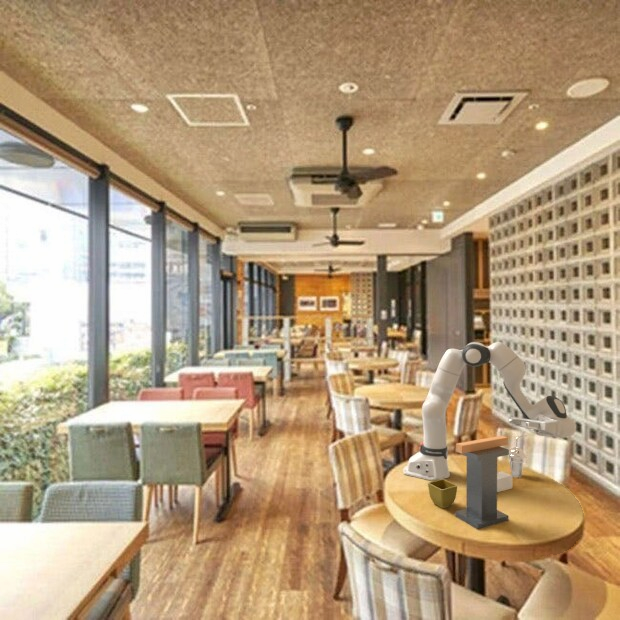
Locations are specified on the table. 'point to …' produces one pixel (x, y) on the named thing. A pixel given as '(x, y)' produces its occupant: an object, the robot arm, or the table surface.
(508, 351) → the robot arm
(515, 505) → the table surface
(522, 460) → the cup with straw
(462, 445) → the orange-brown square bar
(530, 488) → the table surface
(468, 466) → the pedestal
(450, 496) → the flower pot
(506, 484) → the milk
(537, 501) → the table surface
